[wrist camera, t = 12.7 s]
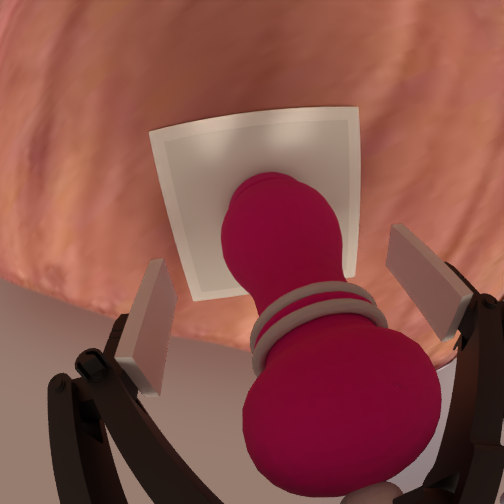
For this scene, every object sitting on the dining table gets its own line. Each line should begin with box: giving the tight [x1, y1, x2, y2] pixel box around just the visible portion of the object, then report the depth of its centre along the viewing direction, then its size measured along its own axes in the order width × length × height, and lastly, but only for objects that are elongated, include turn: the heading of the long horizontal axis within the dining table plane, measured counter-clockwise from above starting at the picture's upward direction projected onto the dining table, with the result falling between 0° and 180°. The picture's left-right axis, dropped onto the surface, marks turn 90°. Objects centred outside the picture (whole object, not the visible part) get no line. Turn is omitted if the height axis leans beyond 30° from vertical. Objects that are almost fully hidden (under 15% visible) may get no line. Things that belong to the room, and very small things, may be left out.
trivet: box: [149, 106, 361, 301], centre depth 21 cm, size 15×15×1 cm
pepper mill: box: [221, 172, 442, 504], centre depth 12 cm, size 7×7×20 cm
